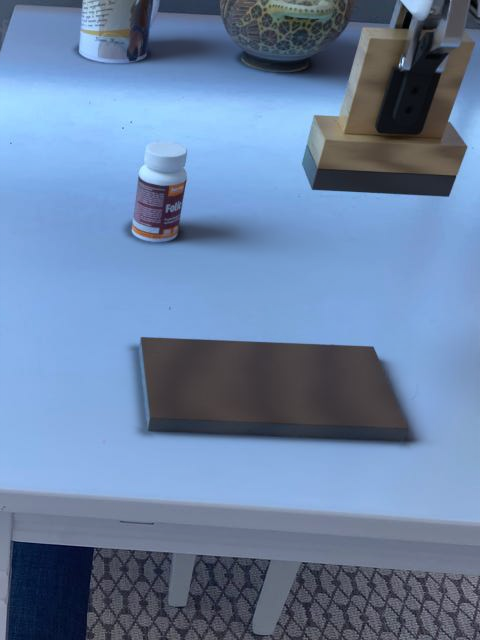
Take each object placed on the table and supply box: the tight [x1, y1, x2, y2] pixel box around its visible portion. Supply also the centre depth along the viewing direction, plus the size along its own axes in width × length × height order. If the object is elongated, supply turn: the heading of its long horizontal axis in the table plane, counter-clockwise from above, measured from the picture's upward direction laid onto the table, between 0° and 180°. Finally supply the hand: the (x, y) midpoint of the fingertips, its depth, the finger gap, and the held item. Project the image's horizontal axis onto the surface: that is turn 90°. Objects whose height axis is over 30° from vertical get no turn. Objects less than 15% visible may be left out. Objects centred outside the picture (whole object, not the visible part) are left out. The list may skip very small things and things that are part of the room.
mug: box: [78, 0, 161, 64], centre depth 132 cm, size 10×12×11 cm
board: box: [138, 336, 409, 442], centre depth 77 cm, size 20×12×2 cm, turn 88°
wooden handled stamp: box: [301, 26, 476, 198], centre depth 67 cm, size 10×5×10 cm, turn 87°
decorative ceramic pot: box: [219, 0, 356, 73], centre depth 129 cm, size 24×18×15 cm
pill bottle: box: [131, 140, 188, 243], centre depth 94 cm, size 5×5×8 cm
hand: (392, 121), depth 67 cm, fingers closed on wooden handled stamp, 2 cm apart
